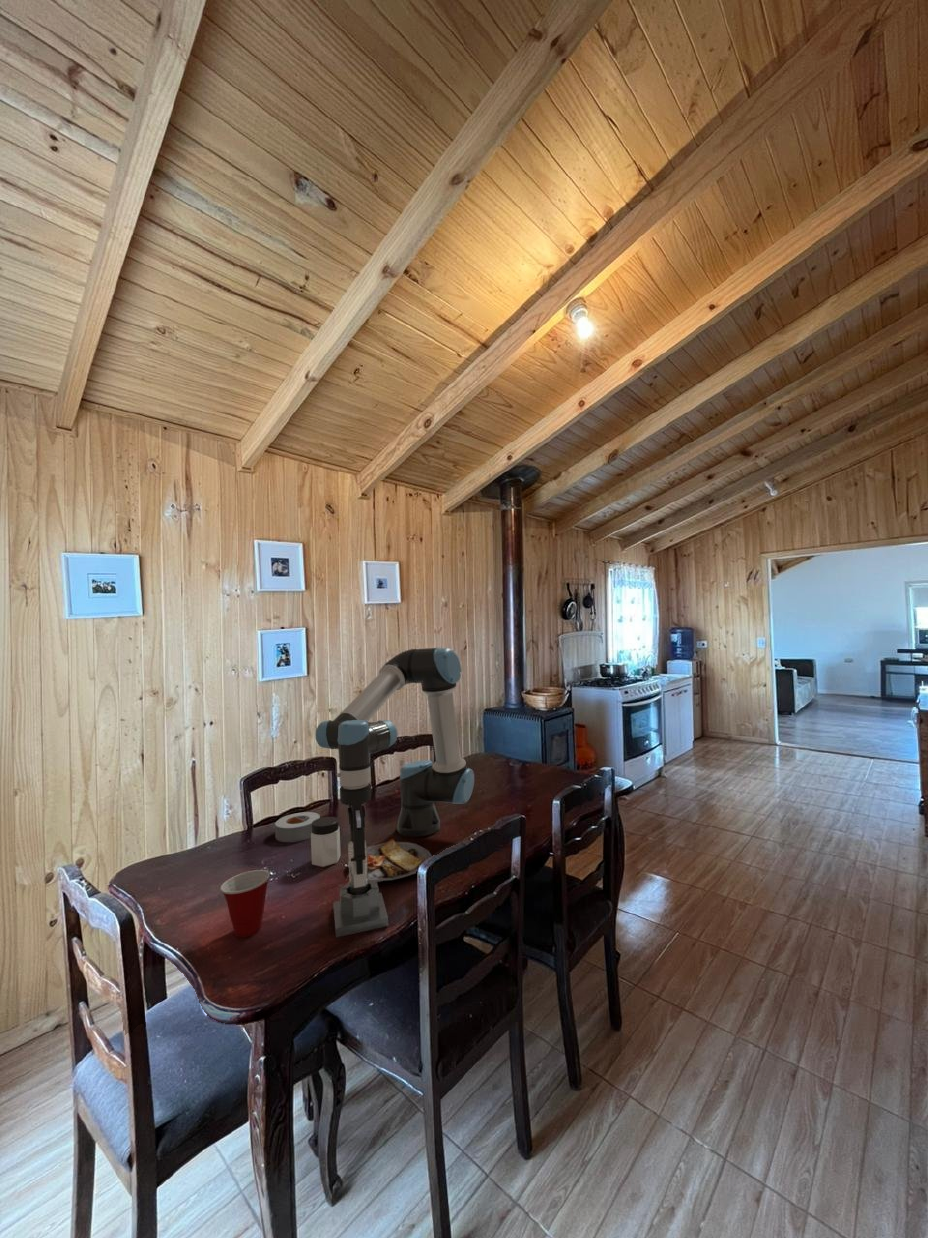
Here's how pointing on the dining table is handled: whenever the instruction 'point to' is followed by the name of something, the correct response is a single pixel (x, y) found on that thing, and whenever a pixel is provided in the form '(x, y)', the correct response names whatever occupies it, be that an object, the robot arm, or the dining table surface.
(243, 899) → the plastic cup
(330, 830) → the jar
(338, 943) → the dining table surface
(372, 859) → the food plate
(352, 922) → the valve body
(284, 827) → the tape roll
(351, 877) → the pipe stub
